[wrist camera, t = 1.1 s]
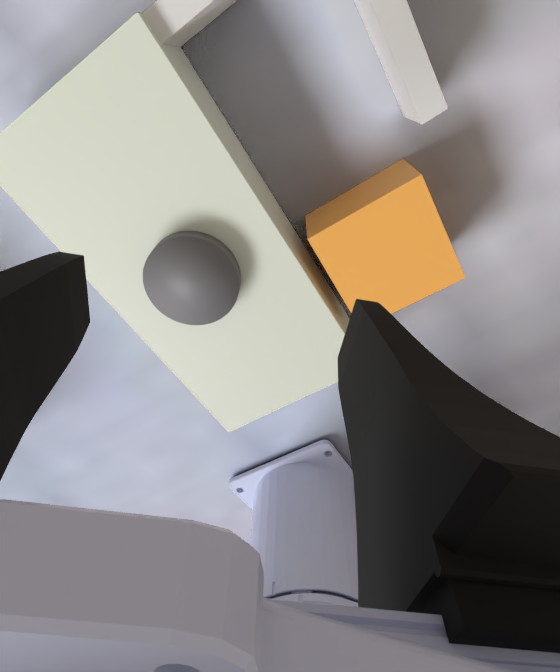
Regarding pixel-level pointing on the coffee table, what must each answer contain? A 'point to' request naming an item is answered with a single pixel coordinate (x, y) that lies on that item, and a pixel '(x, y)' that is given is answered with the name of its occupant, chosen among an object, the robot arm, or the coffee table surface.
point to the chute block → (384, 240)
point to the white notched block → (192, 208)
